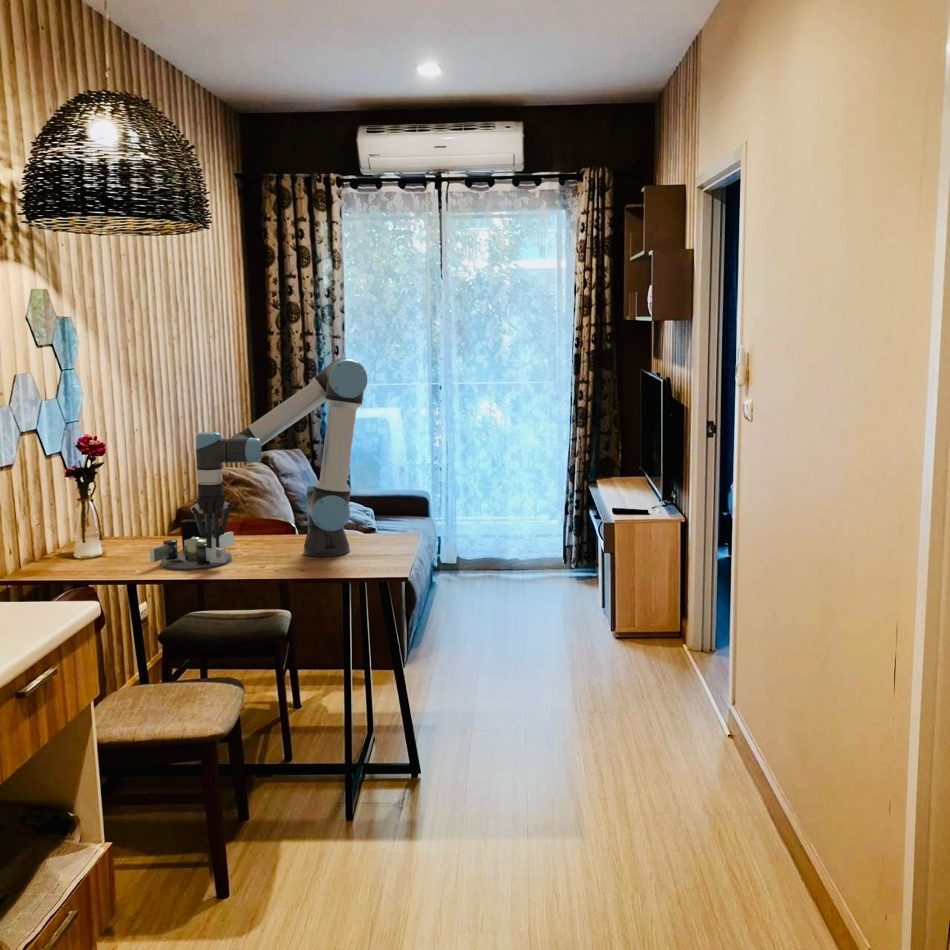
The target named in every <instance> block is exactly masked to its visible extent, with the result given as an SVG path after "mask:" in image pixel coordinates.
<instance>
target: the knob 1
mask: <svg viewBox="0 0 950 950" xmlns="http://www.w3.org/2000/svg"><path fill="white" fill-rule="evenodd" d="M178 554H179V552H178V539H175V538H174V539H164V540H162V544H160V545H157V546H152V547H150V548H149V557H150V558H149V560H150V562H152V563H156V562H159V561H161V560H162V559H166V560H172V559H177V558H178Z"/></svg>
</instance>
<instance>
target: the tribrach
mask: <svg viewBox="0 0 950 950" xmlns="http://www.w3.org/2000/svg"><path fill="white" fill-rule="evenodd" d="M199 543H206V538H199V537H192V538H191V539H186V540H184V548H185V550H184V552H178V558H177V559H172V560H166V559H162V560H160V566H161V567H162V568H163V569H166V570H170V569H173V570H172V571H198V570H207V569H213V568H217V567H218V568H219V567H222V566H224V565H227V564H229V563H231V562H232V560H233V559H232V554H231V553H230V552H227V551H225V554H226V562H224V563H218V562H212V561H211V562H210V563H205V564H199V563H197V547H196V544H199Z"/></svg>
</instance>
